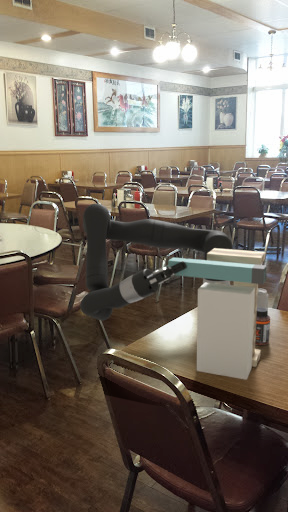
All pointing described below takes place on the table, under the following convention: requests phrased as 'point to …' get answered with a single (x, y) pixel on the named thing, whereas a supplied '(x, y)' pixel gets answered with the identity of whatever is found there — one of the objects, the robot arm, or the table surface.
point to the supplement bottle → (262, 326)
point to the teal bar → (221, 270)
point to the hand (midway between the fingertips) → (187, 262)
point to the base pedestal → (225, 329)
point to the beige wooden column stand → (243, 258)
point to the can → (262, 298)
